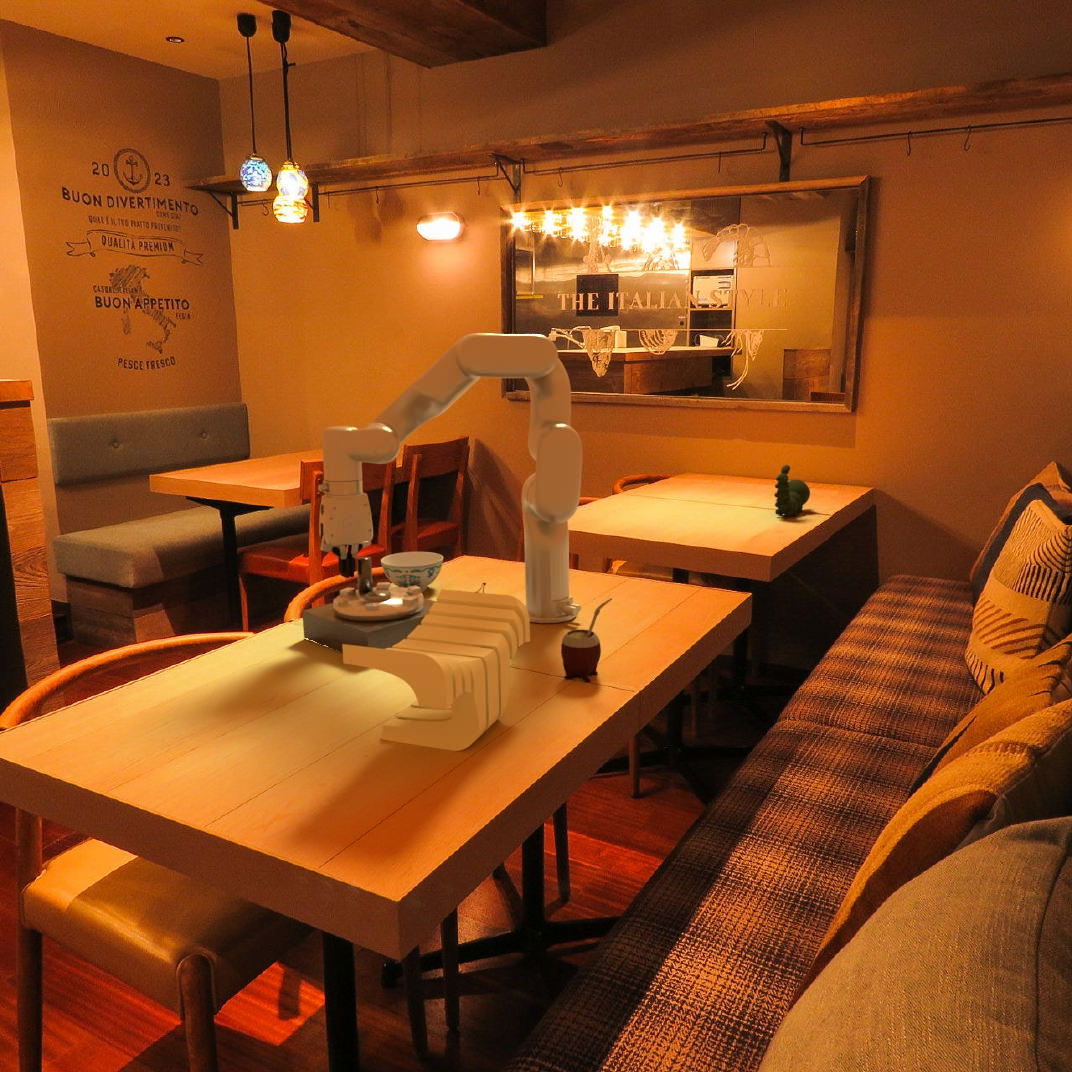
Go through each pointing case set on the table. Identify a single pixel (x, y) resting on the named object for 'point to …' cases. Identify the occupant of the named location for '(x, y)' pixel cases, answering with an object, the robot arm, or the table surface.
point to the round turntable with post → (376, 598)
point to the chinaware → (412, 568)
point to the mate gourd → (581, 651)
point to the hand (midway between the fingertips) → (347, 576)
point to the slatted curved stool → (452, 668)
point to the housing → (358, 628)
